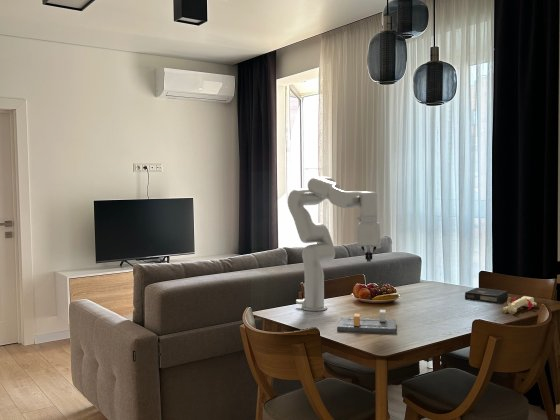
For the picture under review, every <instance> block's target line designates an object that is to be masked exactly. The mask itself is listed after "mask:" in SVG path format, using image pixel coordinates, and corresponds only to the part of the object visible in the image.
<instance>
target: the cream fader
mask: <svg viewBox="0 0 560 420" xmlns="http://www.w3.org/2000/svg"><path fill="white" fill-rule="evenodd" d="M386 316H387V315H386V309H379V319H380V321H382V322H386V319H387V318H386Z"/></svg>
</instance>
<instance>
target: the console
mask: <svg viewBox="0 0 560 420" xmlns="http://www.w3.org/2000/svg"><path fill="white" fill-rule="evenodd" d="M396 323H397V321H396V318H395V319H394V318H392V319H391V318H389V319H388V318H386V322H382V321H380V318H370V317H369V318H366V317H360V326H354V317H340V318H339V320H338V324H337V326H336V332H343V333H369V334H391V335H394V334H395V335H396V334H397V326H396V325H397V324H396Z"/></svg>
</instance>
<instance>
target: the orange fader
mask: <svg viewBox="0 0 560 420" xmlns="http://www.w3.org/2000/svg"><path fill="white" fill-rule="evenodd" d="M353 318H354V326H360V318H361V313H354V314H353Z"/></svg>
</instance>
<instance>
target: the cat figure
mask: <svg viewBox="0 0 560 420" xmlns="http://www.w3.org/2000/svg"><path fill="white" fill-rule="evenodd" d="M506 299H507V300H506V304H507V306H505V307H503V308H502V310H501V313H503V314H507V313H509V314H510V315H515V314H516V313H517V310H518V309H519V308H521V307H527V310H531V309H532V308H533V307H534V306H537V302H535V298H534V297H533V296H532V297H531V296H527V295H523V296H522V297H520V298H518V299H517V296H516V297H514V298H512V297H509V296H508V298H506Z"/></svg>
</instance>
